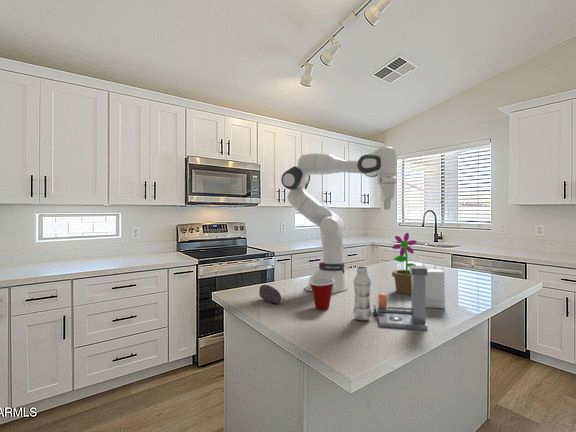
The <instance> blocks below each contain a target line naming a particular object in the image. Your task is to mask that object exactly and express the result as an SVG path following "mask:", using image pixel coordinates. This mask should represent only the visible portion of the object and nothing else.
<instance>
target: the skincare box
mask: <svg viewBox="0 0 576 432" xmlns="http://www.w3.org/2000/svg"><path fill="white" fill-rule="evenodd" d="M445 293H446V291H445V272H444V271H443V269H442V268H441V269H439V268H438V269H435V268H433V269H432V268H427V276H426V275H425V308H433V309H436V308H437V309H445V308H446V301H445V300H446V297H445V295H446V294H445Z"/></svg>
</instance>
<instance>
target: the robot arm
mask: <svg viewBox="0 0 576 432" xmlns="http://www.w3.org/2000/svg"><path fill="white" fill-rule="evenodd" d="M397 159H398V157H397V151H396V149H395V148H394V147H393V146H388V145H387V146H385V145H384V146H383V145H382V146H379V147H378V148H377V149H375V150H374V151H372V152H369V153H367V154H364V155H362V156H360V157H359V158H358V160H345V159H343V158H339V157H337V156H335V155H332V154H329V153H324V152H322V153H321V152H318V153H317V152H315V153H306V154H302V155H301V156H300V157H299V158H298V161H297V166H292V167H290V168H289V169H287V170H286V171H284V172H283V174H282V175H281V178H280V179H281V180H280V181H281V184H282V186H283V187H284V188H285V189H288V190H289V192H288V195H287V201H288V202H289V204H290V205H291V206H292V208H294V209H295V210H296V211H297V212H299V213H300V214H301V215H302V216H304V218H306V219H307V220H308V221H310V222H311V223H312V224H314V225H316V226H318V227H319V230H320V240H321V245H322V261H319V262H318V268H319V269H318V270H316V271H315V272H314V273H312V274H311V275H310V277H309V279H308V283H306V284H305V285H304V290H305V291H308V292H309V291H310V292H312V288H311V285H310V283H309V281H310V280H312V279H316V278H330V279H333V280H334V283H333V286H332V292H331V294H335V293H340V292H345V291H347V290H348V288H347V283H346V277H345V271H346V264H345V261H344V259H345V258H344V244H343V232H344V230H345V225H346V224H345V222H344V219H342V218H341V217H340V216H339V215H337V214H336V213H335V212H333V211H332V210H331V209H330V208H328V207H326V206H325V205H324V204H322V203H320V201H318V200H317V199H316V198H314V197H313V196H312V195H311V194H310V193H308V192H307V190H308V187H309V183H310V181H311V175H318V176H319V175H330V174H338V173H340V174H341V173H349V174H352V173H353V174H362V175H364V176H365V177H368V178H375V177H377V185H378V186H379V187H380V189H381V200H382V201H383V209H384V210H391V204H392V200H393V199H394V196H395V187H396V186H395V185H397V184H398V172H397V167H398V160H397Z"/></svg>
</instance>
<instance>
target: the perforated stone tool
mask: <svg viewBox="0 0 576 432" xmlns="http://www.w3.org/2000/svg"><path fill="white" fill-rule="evenodd" d="M258 292H259V293H258V294H259V296H260V298H261V299H262V300H264V301H265V300H266V301H265V302H268V301H269V302H268V303H270V302H272V303H271V304H274V303H275V305H279V304H281V302H282V295H281V293H280V292H279V291H278V290H277V289H276V288H274V287H273V286H271V285H268V284H262V285H260V286H259V291H258Z"/></svg>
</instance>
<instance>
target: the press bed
mask: <svg viewBox="0 0 576 432" xmlns="http://www.w3.org/2000/svg"><path fill="white" fill-rule="evenodd" d="M427 269H428V268H427V267H426V266H425V265H416V266H409V267H408V270H409V272H410V273H411V295H410V296H411V308H412V315H411V314H395V313H379V312H378V313H377V317H378V318H377V319H378V327H380V328H382V327H383V328H393V329H394V328H395V329H405V330H406V329H407V330H408V329H409V330H422V331H428V324H427V323H426V322H427V321H426V320H427V319H426V314H427V313H426V310H427V309H426V307H425V275H426V276H427Z"/></svg>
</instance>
